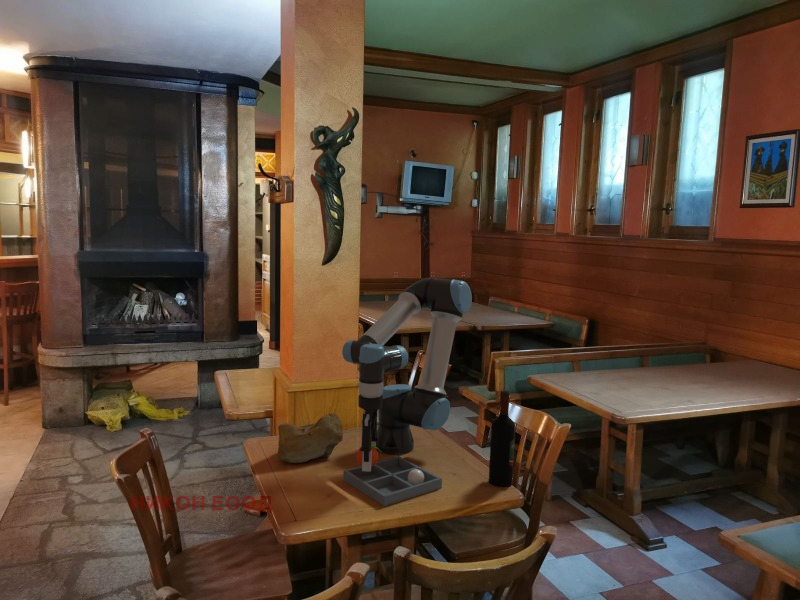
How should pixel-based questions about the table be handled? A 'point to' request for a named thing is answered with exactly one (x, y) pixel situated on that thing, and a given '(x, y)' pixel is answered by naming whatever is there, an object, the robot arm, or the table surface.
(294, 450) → the rough brown rock
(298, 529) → the table surface
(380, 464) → the divided tray
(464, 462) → the table surface
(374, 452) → the clementine
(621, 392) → the table surface
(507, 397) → the wine bottle
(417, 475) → the cream egg
